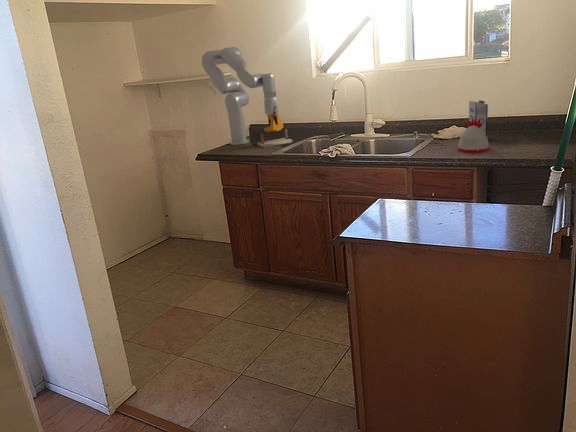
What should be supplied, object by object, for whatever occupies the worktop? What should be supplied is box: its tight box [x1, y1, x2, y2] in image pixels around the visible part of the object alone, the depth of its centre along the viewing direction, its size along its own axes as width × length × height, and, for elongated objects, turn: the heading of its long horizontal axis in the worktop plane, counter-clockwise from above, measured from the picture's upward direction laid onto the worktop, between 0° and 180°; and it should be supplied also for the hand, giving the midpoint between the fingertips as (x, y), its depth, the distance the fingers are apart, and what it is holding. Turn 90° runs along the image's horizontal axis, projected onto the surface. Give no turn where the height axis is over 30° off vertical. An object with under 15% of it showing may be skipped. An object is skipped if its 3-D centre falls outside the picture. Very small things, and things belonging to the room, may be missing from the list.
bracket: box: [263, 112, 284, 133], centre depth 296 cm, size 11×7×12 cm, turn 146°
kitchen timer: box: [457, 118, 490, 154], centre depth 231 cm, size 14×14×15 cm
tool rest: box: [257, 128, 293, 148], centre depth 299 cm, size 10×19×8 cm, turn 115°
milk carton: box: [468, 99, 489, 137], centre depth 252 cm, size 7×7×20 cm
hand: (273, 125), depth 296 cm, fingers closed on bracket, 5 cm apart
